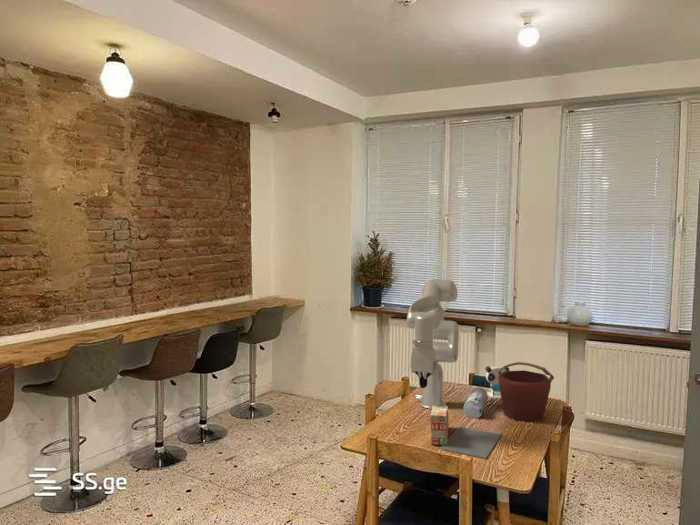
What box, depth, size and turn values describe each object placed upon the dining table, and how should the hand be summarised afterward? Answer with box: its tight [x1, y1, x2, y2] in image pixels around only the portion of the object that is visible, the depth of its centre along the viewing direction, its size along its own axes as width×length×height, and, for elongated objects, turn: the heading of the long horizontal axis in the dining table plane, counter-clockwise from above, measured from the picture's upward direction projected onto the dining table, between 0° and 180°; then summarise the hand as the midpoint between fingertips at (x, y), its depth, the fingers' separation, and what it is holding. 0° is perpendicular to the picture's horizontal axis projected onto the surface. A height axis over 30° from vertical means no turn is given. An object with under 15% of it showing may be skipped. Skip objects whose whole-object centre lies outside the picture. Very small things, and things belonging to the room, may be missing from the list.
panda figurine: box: [484, 365, 510, 399], centre depth 273 cm, size 12×11×15 cm
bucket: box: [498, 361, 555, 423], centre depth 241 cm, size 24×22×25 cm
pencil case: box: [463, 387, 489, 419], centre depth 248 cm, size 21×9×10 cm, turn 158°
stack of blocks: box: [430, 405, 450, 446], centre depth 218 cm, size 21×6×12 cm, turn 168°
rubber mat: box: [439, 426, 502, 460], centre depth 212 cm, size 18×26×1 cm
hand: (423, 387), depth 220 cm, fingers closed
